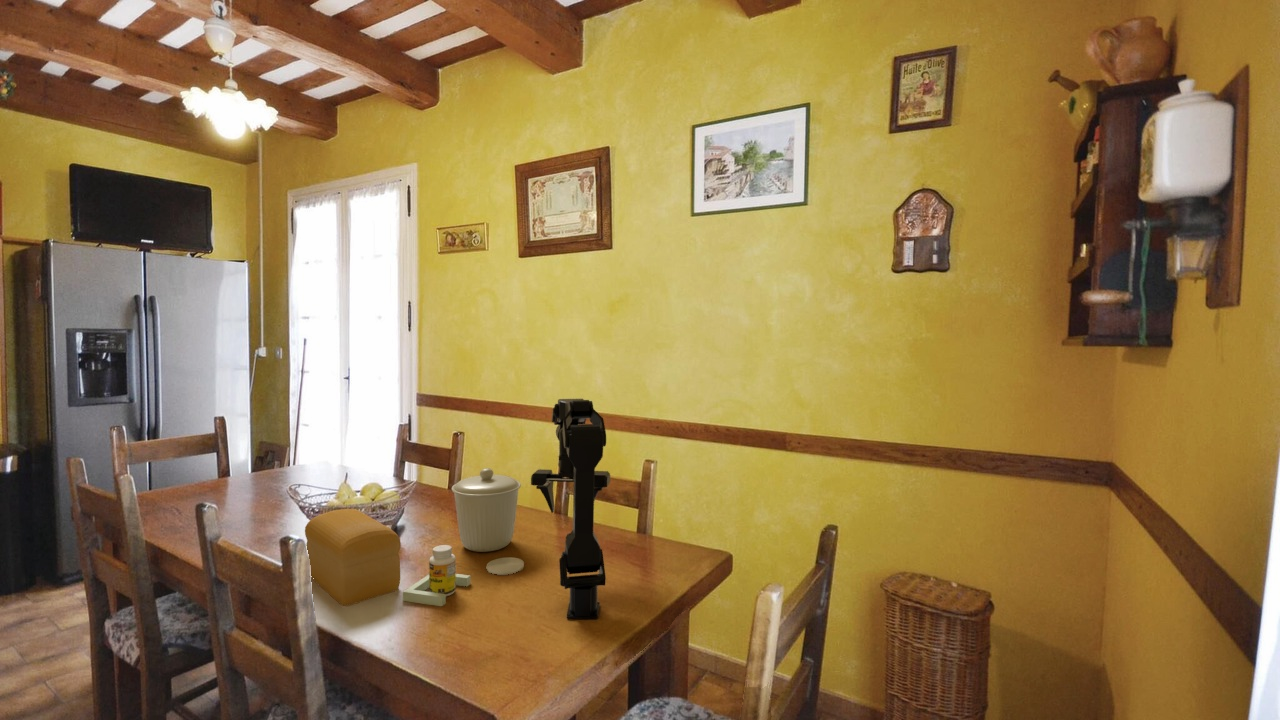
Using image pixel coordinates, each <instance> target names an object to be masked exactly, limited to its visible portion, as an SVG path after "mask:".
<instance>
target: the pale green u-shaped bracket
mask: <svg viewBox="0 0 1280 720" xmlns="http://www.w3.org/2000/svg"><path fill="white" fill-rule="evenodd" d="M470 585H472V584H471V575H469V574H468V575H467V574H462V573H456V586H459V587H465V586H466V587H465V588H468V587H469V586H470ZM428 589H429V574H427V575H426V576H424V577H423V578H422V579H419V580H418V581H416V583H413V584H412V585H411V586H409V587H408V588H406V589H405V590H403V591H402V602H403V601H404V602H409V603H416V604H423V605H430V606H435V607H443V606H444V605H446V604H447V602H446V600H447V599H446V598H447V596H446V594H441V593H433V592H430V591H426V590H428Z"/></svg>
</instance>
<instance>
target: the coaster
mask: <svg viewBox="0 0 1280 720" xmlns="http://www.w3.org/2000/svg"><path fill="white" fill-rule="evenodd" d="M524 568H525V562H524V561H523V559H521V558H517V557H506V556H505V557H501V558H496V559H493V560H491V561H489V562H488V563H487V564H486V569H487V570H486V571H488V572H487V573H488V574H491V573H492V574H491V575H494V574H497V575H496V576H508V574H509V575H513V573H514V574H517V573H519V572H520V571H522V570H523V569H524ZM518 571H519V572H518ZM516 572H517V573H516Z"/></svg>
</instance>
